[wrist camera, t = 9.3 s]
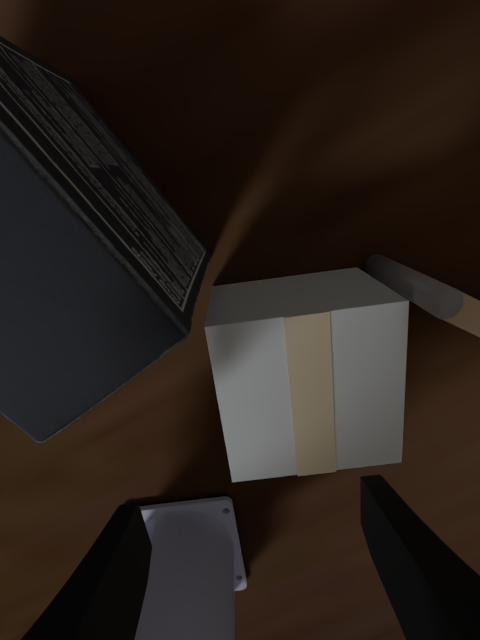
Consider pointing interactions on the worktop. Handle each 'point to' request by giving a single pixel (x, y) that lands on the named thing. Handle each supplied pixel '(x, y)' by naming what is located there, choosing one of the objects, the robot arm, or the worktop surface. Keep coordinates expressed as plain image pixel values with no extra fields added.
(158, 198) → the small box
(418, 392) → the worktop surface
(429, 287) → the flap
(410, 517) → the robot arm
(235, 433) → the carton
